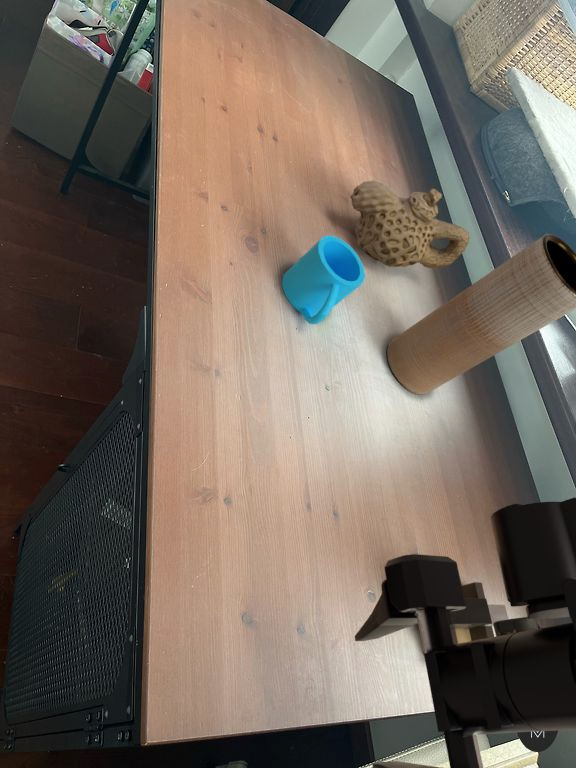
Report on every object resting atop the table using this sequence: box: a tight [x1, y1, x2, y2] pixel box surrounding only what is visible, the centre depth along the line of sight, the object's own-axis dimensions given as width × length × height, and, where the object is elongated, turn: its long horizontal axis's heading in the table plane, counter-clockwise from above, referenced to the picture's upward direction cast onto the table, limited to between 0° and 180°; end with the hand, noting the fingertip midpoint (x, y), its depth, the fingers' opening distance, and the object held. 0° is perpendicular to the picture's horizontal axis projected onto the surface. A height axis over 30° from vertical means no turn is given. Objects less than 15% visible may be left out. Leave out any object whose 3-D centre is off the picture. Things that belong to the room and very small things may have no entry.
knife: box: [446, 598, 509, 629], centre depth 73 cm, size 14×3×3 cm, turn 97°
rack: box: [451, 581, 495, 644], centre depth 75 cm, size 10×8×4 cm
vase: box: [386, 233, 576, 396], centre depth 86 cm, size 10×10×28 cm
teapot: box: [349, 180, 470, 269], centre depth 100 cm, size 21×12×15 cm, turn 81°
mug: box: [281, 235, 366, 325], centre depth 85 cm, size 12×8×8 cm
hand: (367, 699), depth 50 cm, fingers open, 9 cm apart
